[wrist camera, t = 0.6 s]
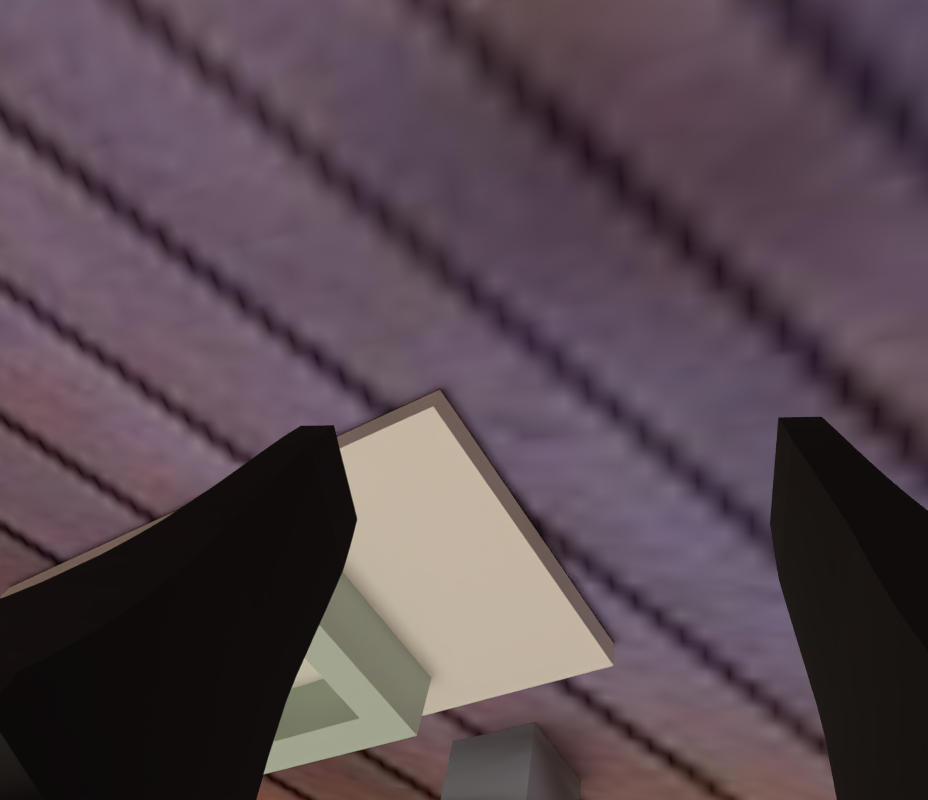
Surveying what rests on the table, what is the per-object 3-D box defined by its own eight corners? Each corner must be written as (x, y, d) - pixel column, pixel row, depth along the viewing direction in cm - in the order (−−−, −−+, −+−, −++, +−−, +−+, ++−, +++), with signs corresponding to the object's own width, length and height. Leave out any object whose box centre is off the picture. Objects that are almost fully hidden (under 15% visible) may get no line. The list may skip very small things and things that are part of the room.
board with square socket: (613, 643, 29) (613, 726, 26) (193, 759, 38) (156, 830, 35) (439, 389, 24) (414, 454, 21) (9, 587, 33) (-51, 652, 30)
